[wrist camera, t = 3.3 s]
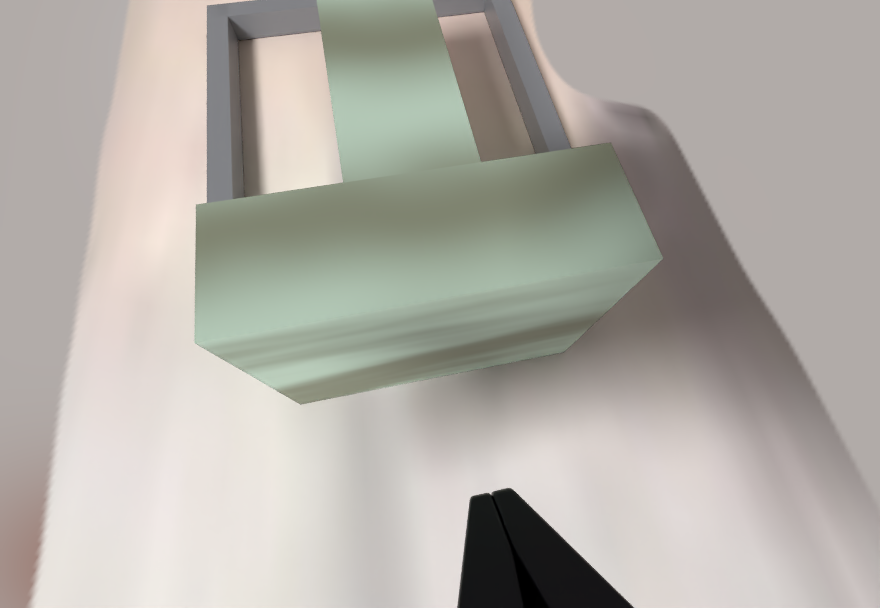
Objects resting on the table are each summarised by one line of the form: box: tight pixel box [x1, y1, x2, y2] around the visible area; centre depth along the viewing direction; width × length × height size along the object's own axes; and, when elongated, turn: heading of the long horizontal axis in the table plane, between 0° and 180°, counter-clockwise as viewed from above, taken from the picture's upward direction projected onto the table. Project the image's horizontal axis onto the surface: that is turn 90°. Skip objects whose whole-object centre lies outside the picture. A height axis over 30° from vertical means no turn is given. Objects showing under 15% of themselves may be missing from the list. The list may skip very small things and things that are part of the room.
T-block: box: [195, 0, 663, 404], centre depth 17 cm, size 14×12×9 cm
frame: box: [207, 0, 571, 203], centre depth 24 cm, size 18×18×2 cm
